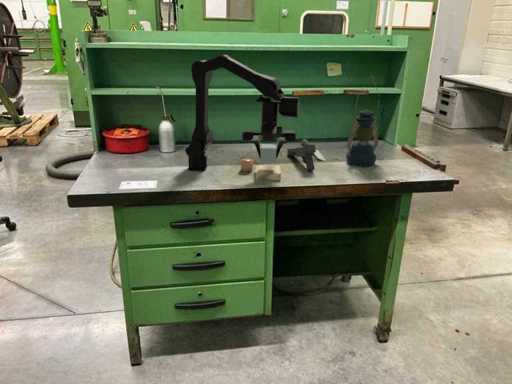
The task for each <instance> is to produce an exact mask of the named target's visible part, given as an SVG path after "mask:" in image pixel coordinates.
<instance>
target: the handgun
mask: <svg viewBox="0 0 512 384" xmlns="http://www.w3.org/2000/svg"><path fill="white" fill-rule="evenodd" d="M316 150H317V149H316V145H315V144H310V145H305V146H303V147H295V148H287V150H286V151H287V152H286V153H287V154H286V156H287V157H297V158H298V157H299V158H301V159H302V163H303V164H305V167H306V170H307V172H313V171H314V170H315V164H314V159H313V155H315V154H314V153H315V152H316Z"/></svg>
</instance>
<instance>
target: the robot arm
mask: <svg viewBox="0 0 512 384" xmlns="http://www.w3.org/2000/svg"><path fill="white" fill-rule="evenodd" d="M222 68H223V69H225V70H226V71H228V72H230V73H231V74H233V75H235V76H236V77H238V78H240V79H242V80H244V81H246V82H247V83H248V84H251V85H252V87H253V86H254V88H255V89H256V90H257V91H258V92H259V93H260V95H259V97H258V98H256V99H255V102H256V103H261V115H260V116H261V118H260V120H261V121H260V122H261V123H260V131H255V130H254V128H244V129H243V130H242V135H241V136H242V137H241V139H242V141H250V143H251V144H252V143H253V144H254V146H255V148H256V152H257V155H258V158H259V159H260V160H261V142H260V139H261V141H263V142H276V141H277V143H276V160H277V159H278V157H279V154H280V152H281V150H282V147H283V146H284V145H285V144H287V143H288V142H296V139H297V134H296V132H295V130H293V129H289V130H288V129H284V130H283V126H278V121H279V120H278V119H279V118H278V117H279V115H281V117H286V118H299V117H300V114H301V102H300V97H299V96H293V97H292V96H286V94H285V92H284V91H283V90H282V88H281V83H280V80H278V79H277V78H276V77H272V76H269V75H267V74H264V73H259V72H257V71H256V70H253V69H251V68H250V67H248V66H247V65H244V64H243V63H241V62H240V61H237V60H236V59H234V58H232V57H230V56H229V54H228V55H227V54H220V55H218V56H216V57H214V58H211V59H202V60H196V61H194V62H193V63H192V64H191V67H190V72H191V77H192V78H191V79H192V81H193V84H194V86H195V119H194V120H195V122H194V123H195V124H194V129H193V131H192V134H191V140H190V144H189V145H188V146H187V147H186V148H185V149H184V151H185V153H186V156H187V158H188V159H187V160H188V167H187V170H188V171H206V169H207V168H208V165H209V164H208V155H206V152H207V150H208V148H209V146H211V145H212V142H213V141H214V137H213V135H214V129H210V127H209V90H210V89H209V86H210V84H211V82H212V77H213V73H214V71H217V70H220V69H222Z"/></svg>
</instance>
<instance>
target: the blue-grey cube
mask: <svg viewBox="0 0 512 384" xmlns="http://www.w3.org/2000/svg"><path fill="white" fill-rule="evenodd" d="M276 150H277V144H270V143H269V144H266V143H265V144H263V143H262V144H261V143H260V151H261V159H260V164H277V159H276Z"/></svg>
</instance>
